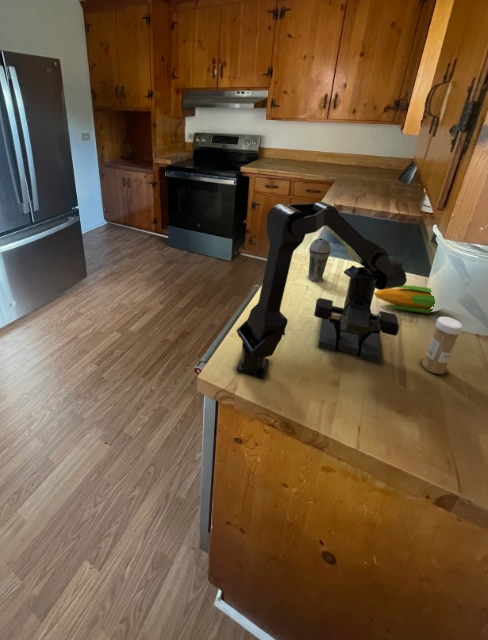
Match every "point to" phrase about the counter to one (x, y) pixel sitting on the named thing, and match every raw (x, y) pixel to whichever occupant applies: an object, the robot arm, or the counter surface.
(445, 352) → the tan spice jar
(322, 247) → the beverage cup
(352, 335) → the small pad
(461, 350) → the counter surface
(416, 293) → the corn
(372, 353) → the dark u-shaped block
